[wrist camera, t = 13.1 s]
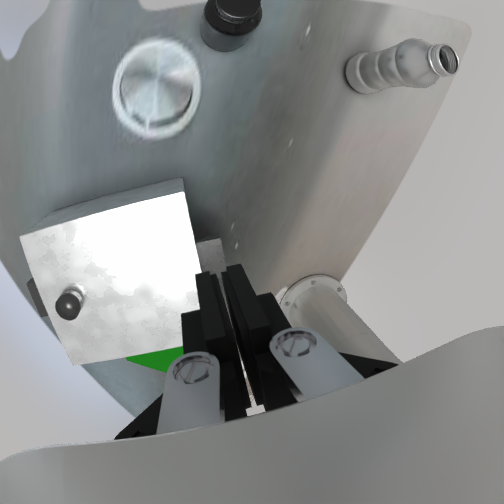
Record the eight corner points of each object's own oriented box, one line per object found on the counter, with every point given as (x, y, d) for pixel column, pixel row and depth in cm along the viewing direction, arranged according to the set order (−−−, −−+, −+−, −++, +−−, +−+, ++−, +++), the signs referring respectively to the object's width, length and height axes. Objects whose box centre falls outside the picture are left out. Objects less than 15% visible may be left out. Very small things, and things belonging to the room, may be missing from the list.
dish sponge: (138, 320, 50) (137, 328, 48) (213, 345, 55) (215, 354, 53) (126, 351, 52) (125, 360, 50) (198, 373, 57) (199, 382, 54)
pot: (225, 286, 51) (238, 324, 41) (75, 318, 47) (58, 360, 37) (203, 172, 44) (211, 184, 34) (37, 216, 40) (4, 240, 30)
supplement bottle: (236, 5, 36) (255, -30, 25) (256, 42, 38) (282, 16, 27) (191, 21, 35) (197, -13, 24) (211, 59, 38) (223, 35, 27)
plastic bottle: (335, 84, 43) (423, 69, 25) (346, 48, 41) (433, 20, 23) (369, 101, 45) (462, 99, 27) (379, 66, 43) (469, 51, 25)
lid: (216, 333, 40) (220, 347, 37) (74, 361, 37) (69, 374, 34) (183, 190, 33) (183, 195, 31) (22, 234, 30) (11, 241, 28)
